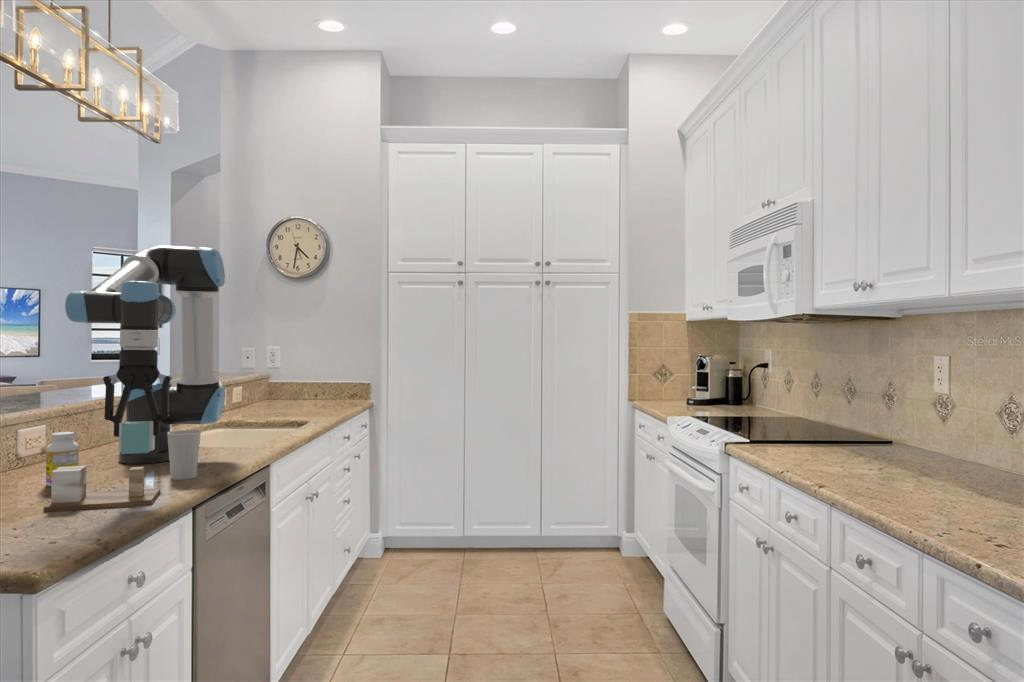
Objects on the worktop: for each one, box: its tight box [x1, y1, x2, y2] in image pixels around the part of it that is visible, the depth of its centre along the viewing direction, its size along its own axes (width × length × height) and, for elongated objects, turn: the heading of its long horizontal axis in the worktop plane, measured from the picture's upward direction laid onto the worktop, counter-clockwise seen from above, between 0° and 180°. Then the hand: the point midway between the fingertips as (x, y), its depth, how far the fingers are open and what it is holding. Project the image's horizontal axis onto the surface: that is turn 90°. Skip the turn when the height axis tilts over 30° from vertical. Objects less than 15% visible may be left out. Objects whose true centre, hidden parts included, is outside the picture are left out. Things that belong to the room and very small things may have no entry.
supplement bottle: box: [45, 431, 80, 487], centre depth 157 cm, size 7×7×13 cm
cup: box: [167, 429, 202, 481], centre depth 168 cm, size 8×8×12 cm
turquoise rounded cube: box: [121, 421, 151, 454], centre depth 144 cm, size 5×5×7 cm
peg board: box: [43, 465, 161, 513], centre depth 142 cm, size 12×20×8 cm, turn 111°
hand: (136, 450), depth 144 cm, fingers closed on turquoise rounded cube, 5 cm apart
